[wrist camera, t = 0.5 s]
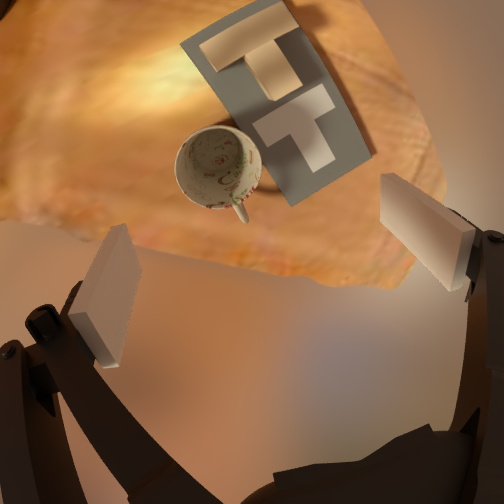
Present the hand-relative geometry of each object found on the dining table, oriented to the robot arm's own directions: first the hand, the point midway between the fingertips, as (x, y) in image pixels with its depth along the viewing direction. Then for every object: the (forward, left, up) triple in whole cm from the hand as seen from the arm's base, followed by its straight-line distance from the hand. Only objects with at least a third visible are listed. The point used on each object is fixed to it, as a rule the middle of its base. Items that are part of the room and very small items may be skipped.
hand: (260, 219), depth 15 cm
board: (-1, +8, -26) cm, 27 cm away
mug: (+2, -2, -26) cm, 26 cm away
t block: (-6, +8, -24) cm, 26 cm away
